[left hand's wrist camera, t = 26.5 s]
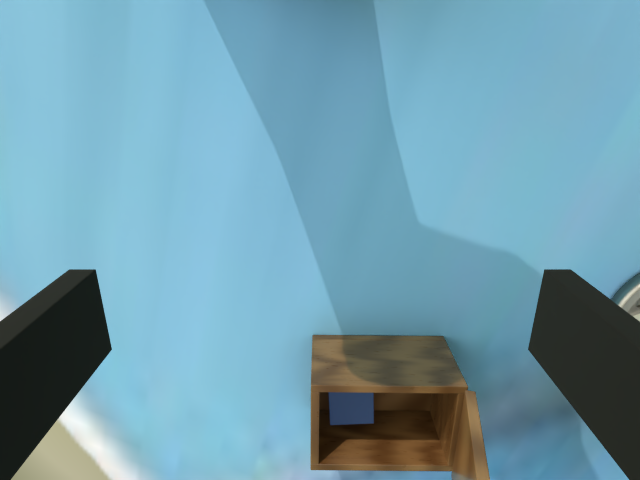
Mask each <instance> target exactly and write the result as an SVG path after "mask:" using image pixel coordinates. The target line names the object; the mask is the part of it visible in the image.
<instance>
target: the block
mask: <svg viewBox="0 0 640 480" xmlns="http://www.w3.org/2000/svg"><path fill="white" fill-rule="evenodd" d="M328 397H329V415H330V425H347V424H372V423H374V393H347V392H328Z"/></svg>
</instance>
